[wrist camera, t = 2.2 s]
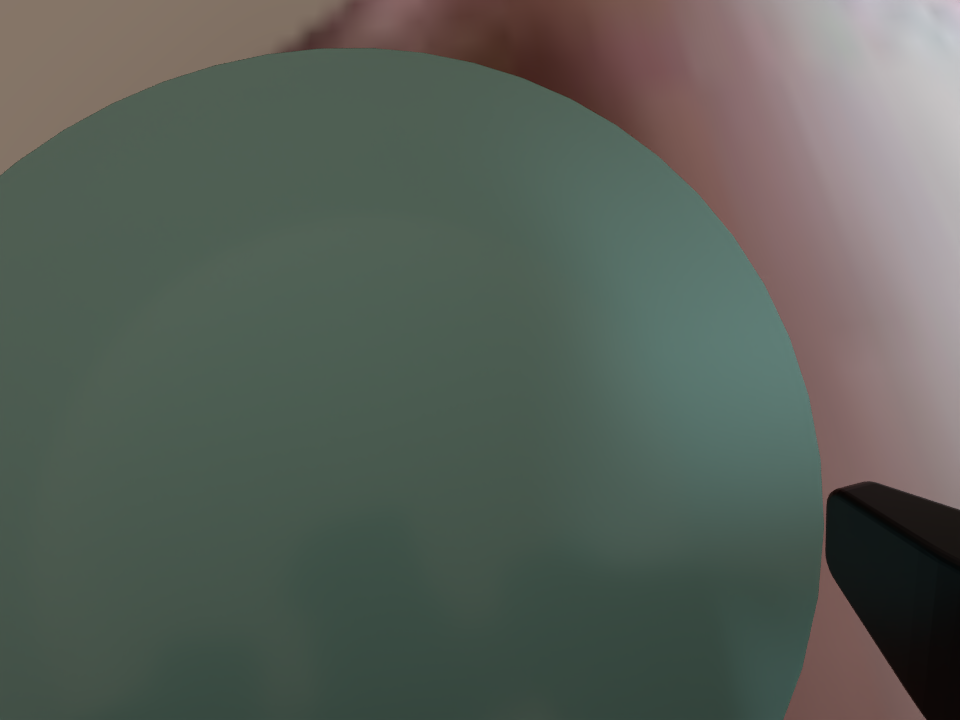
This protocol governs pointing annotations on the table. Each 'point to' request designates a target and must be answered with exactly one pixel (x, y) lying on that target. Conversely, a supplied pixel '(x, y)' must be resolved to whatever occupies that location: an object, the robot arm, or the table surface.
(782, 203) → the table surface
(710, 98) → the table surface
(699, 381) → the green rounded cylinder
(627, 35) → the table surface
